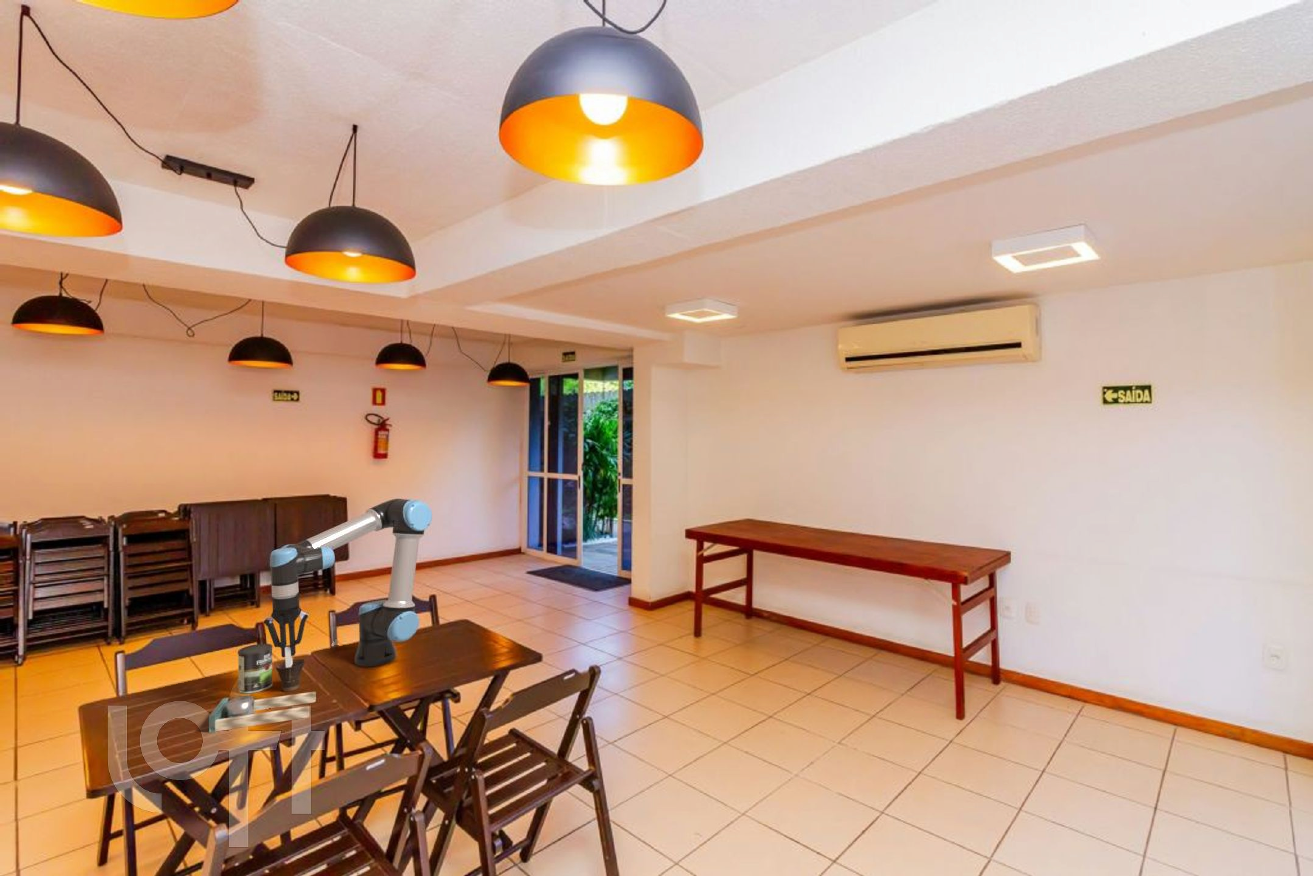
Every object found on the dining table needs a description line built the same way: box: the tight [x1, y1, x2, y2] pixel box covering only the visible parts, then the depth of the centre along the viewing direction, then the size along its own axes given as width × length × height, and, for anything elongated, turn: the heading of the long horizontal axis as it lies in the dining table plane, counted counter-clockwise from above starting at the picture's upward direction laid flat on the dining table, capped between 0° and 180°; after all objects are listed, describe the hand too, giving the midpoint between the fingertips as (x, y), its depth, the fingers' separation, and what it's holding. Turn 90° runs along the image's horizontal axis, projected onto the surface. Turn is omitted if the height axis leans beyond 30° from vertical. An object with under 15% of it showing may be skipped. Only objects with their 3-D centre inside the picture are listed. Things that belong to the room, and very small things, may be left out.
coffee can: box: [237, 643, 274, 695], centre depth 214 cm, size 10×10×14 cm
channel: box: [208, 691, 317, 733], centre depth 193 cm, size 26×13×5 cm, turn 111°
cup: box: [274, 658, 306, 693], centre depth 212 cm, size 9×9×10 cm
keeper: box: [226, 695, 255, 718], centre depth 190 cm, size 7×7×6 cm
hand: (289, 665), depth 199 cm, fingers closed
